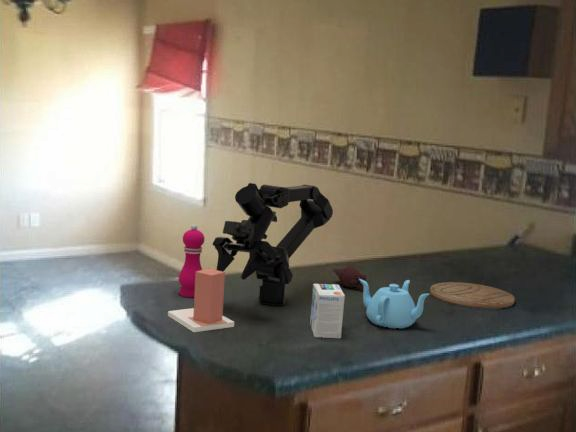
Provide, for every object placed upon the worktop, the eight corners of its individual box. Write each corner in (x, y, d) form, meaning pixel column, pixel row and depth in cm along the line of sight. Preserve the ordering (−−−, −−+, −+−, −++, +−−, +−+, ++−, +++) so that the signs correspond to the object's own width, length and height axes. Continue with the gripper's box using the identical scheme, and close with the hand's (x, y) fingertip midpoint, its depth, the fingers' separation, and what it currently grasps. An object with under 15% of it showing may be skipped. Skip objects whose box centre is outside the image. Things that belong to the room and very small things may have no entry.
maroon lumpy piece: (323, 262, 226) (356, 278, 215) (341, 255, 230) (374, 270, 219) (325, 282, 229) (357, 298, 218) (342, 275, 233) (375, 290, 222)
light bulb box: (309, 323, 185) (312, 282, 183) (335, 325, 185) (338, 283, 184) (314, 337, 174) (317, 294, 172) (342, 338, 175) (345, 295, 173)
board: (167, 315, 183) (168, 310, 183) (206, 311, 189) (206, 305, 189) (193, 332, 172) (194, 326, 171) (234, 326, 178) (234, 321, 178)
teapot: (372, 331, 182) (376, 292, 180) (354, 313, 196) (357, 276, 195) (427, 331, 185) (431, 292, 183) (405, 313, 200) (409, 277, 198)
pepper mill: (199, 299, 200) (202, 227, 196) (174, 296, 201) (177, 224, 198) (207, 292, 207) (210, 223, 203) (182, 289, 208) (186, 220, 205)
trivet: (528, 302, 223) (529, 296, 222) (489, 316, 204) (490, 309, 204) (456, 284, 239) (456, 278, 239) (414, 295, 221) (414, 289, 221)
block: (206, 315, 181) (208, 268, 179) (222, 319, 178) (224, 272, 176) (193, 319, 177) (195, 271, 175) (209, 324, 174) (211, 275, 172)
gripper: (214, 206, 191) (186, 256, 185) (265, 209, 179) (236, 262, 172) (238, 230, 198) (212, 279, 192) (289, 235, 185) (262, 287, 179)
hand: (229, 276), depth 184 cm, fingers open, 9 cm apart
